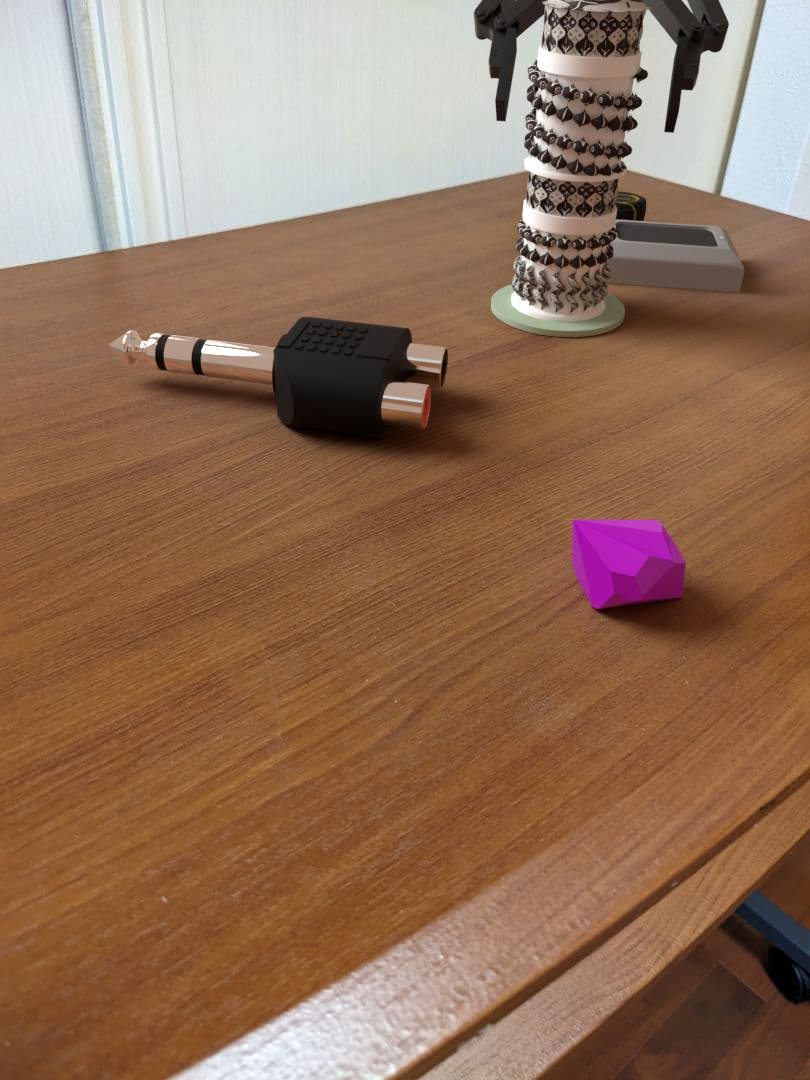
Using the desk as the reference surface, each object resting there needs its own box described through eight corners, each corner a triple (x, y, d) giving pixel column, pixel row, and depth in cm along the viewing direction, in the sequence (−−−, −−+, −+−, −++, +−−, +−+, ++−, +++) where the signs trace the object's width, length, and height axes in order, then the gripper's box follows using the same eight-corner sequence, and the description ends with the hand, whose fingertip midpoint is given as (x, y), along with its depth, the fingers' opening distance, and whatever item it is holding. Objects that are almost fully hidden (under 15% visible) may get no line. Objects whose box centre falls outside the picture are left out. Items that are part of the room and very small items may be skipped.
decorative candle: (537, 277, 88) (571, -28, 74) (626, 300, 84) (681, -19, 69) (487, 306, 82) (513, -21, 67) (580, 332, 78) (630, -10, 63)
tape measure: (637, 221, 105) (642, 187, 103) (646, 240, 100) (652, 205, 98) (577, 219, 106) (581, 185, 103) (583, 238, 100) (588, 202, 98)
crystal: (621, 636, 48) (636, 566, 45) (551, 581, 51) (562, 513, 49) (689, 602, 50) (707, 533, 48) (618, 552, 54) (631, 485, 51)
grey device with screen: (584, 213, 95) (733, 223, 94) (579, 248, 97) (724, 259, 96) (586, 243, 87) (748, 254, 86) (581, 281, 90) (739, 292, 88)
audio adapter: (421, 385, 59) (64, 340, 63) (418, 457, 62) (78, 410, 66) (452, 320, 67) (136, 284, 72) (448, 386, 71) (146, 348, 75)
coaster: (652, 317, 83) (653, 310, 82) (557, 349, 77) (557, 342, 76) (556, 277, 90) (557, 271, 90) (463, 303, 84) (464, 297, 84)
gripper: (762, -73, 79) (735, 154, 75) (474, -82, 83) (436, 133, 79) (786, -152, 71) (757, 96, 68) (468, -158, 75) (426, 76, 72)
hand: (584, 117), depth 74 cm, fingers open, 13 cm apart
